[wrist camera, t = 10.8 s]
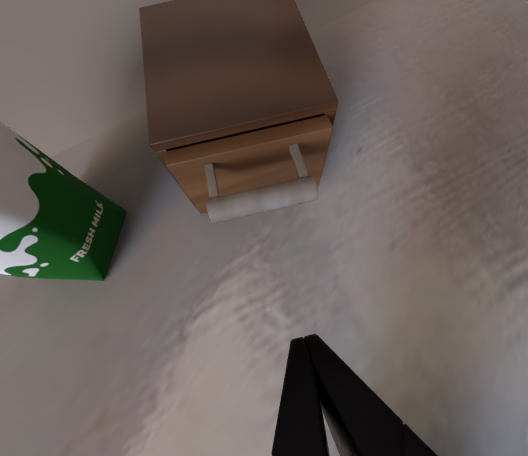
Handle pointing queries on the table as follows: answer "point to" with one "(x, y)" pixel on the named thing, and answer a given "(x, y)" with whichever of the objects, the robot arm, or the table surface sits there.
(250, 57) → the cabinet
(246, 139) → the drawer
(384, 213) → the table surface
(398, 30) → the table surface
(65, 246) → the milk carton
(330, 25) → the table surface
